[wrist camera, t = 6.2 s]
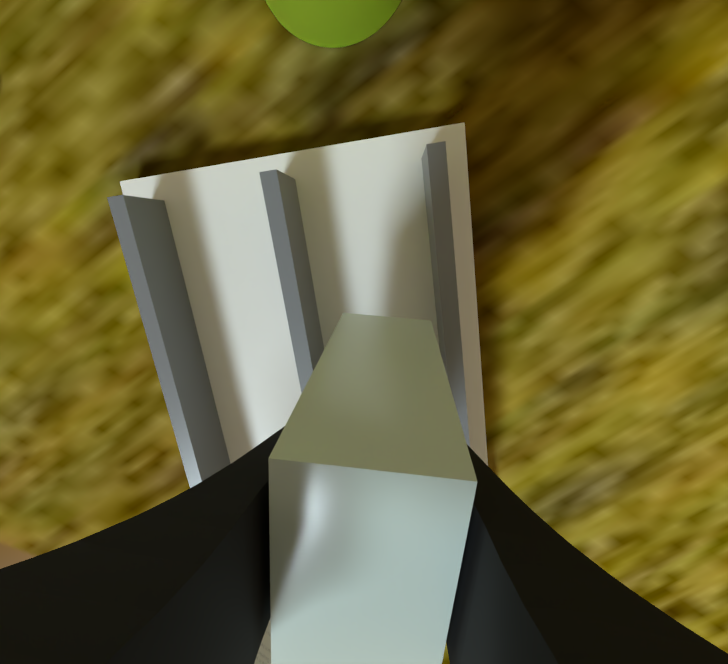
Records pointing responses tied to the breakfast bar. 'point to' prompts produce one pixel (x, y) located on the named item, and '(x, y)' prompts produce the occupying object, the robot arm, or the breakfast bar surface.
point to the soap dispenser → (333, 19)
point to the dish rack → (297, 277)
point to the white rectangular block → (369, 502)
